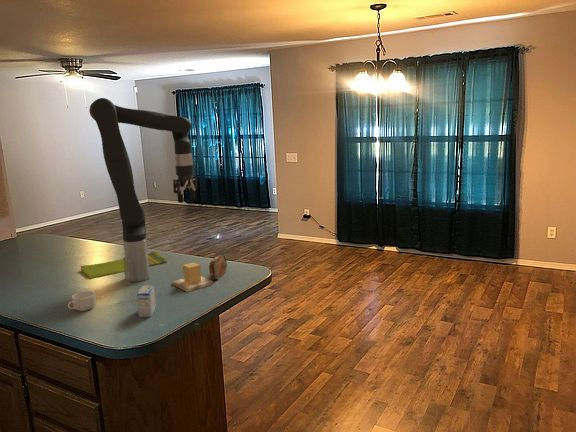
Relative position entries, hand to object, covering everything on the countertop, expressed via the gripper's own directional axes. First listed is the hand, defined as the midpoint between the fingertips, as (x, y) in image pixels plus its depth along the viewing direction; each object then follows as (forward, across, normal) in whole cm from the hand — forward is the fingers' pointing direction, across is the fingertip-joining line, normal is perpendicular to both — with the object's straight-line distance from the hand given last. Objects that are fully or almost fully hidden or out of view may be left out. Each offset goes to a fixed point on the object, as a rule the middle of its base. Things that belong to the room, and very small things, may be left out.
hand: (186, 201), depth 202 cm
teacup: (+31, -53, +10) cm, 63 cm away
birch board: (+31, -17, -13) cm, 38 cm away
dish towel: (+32, -8, +31) cm, 45 cm away
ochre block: (+30, -17, -13) cm, 37 cm away
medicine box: (+31, -47, -14) cm, 58 cm away
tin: (+31, -5, -17) cm, 36 cm away
